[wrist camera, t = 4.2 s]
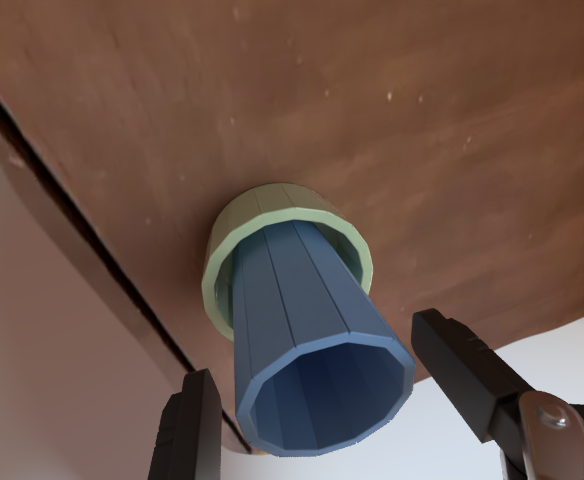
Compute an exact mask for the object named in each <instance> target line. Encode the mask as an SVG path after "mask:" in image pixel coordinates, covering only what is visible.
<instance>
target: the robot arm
mask: <svg viewBox="0 0 584 480" xmlns="http://www.w3.org/2000/svg"><path fill="white" fill-rule="evenodd" d="M411 344H412V347H413V350H414V352H415V354H416V356H417V357H418V358H419V360H420V361H421V362H422V364H423V365H424V366H425V368H426V369H427V370H428V372H429V373H430V375H431V376H432V377H433V379H434V380H435V381H436V383H437V384H438V385H439V387H440V388H441V389H442V391H443V392H444V393H445V395H446V396H447V397H448V399H449V400H450V401H451V403H452V404H453V405H454V407H455V408H456V409H457V411H458V412H459V413H460V415H461V416H462V417H463V419H464V420H465V422H466V423H467V424H468V426H469V427H470V428H471V430H472V431H473V432H474V434H475V435H476V436H477V438H478V439H479V440H480V442H481V443H485V442H488V441H491V440H495V442H496V443H497V444H498V445H499V447H500V458H501V465H502V473H503V479H504V480H584V405H580V404H568V403H567V402H565V401H564V400H562V399H560V398H558V397H556V396H554V395H552V394H550V393H546V392H542V391H537V390H535V389H534V388H533V387H531V386H530V385H529V384H528V383H527V382H526V381H525V380H524V379H522V377H520V376H519V375H518V374H517V373H516V372H515V371H514V370H513V369H512V368H511V367H510V366H509V365H508V364H506V362H504V361H503V360H502V359H501V358H500V357H499V356H498V355H497V354H496V353H495V352H494V351H493V350H492V349H489V348H488V346H487V345H486V344H485V343H484V342H483V341H482V340H481V339H479V338H478V336H477V335H476V334H475V333H473V332H472V331H471V330H470V329H469V328H468V327H467V326H466V325H464V324H462V323H460V322H458V321H456V320H454V319H453V318H449V319H446V318H445V317H444V316H443V315H442V314H441V313H440V312H439V311H438V310H436V309H434V308H431V309H427V310H423V311H419V312H416V313H414V314H413V319H412V333H411ZM221 425H222V406H221V399H220V395H219V392H218V390H217V387H216V385H215V383H214V381H213V378H212V376H211V374H210V371H209V370H208V369H207V368H206V369H203V370H199V371H195V372H191V373H188V374H186V375H185V377H184V381H183V387H182V392H180V393H176V394H173V395H171V397H170V399H169V401H168V402H167V404H166V406H165V408H164V409H163V411H162V416H161V420H160V426H159V432H158V434H157V439H156V447H155V448H154V452H153V457H152V462H151V466H150V471H149V475H148V480H220V464H221V463H220V462H221Z"/></svg>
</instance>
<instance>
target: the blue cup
mask: <svg viewBox="0 0 584 480" xmlns="http://www.w3.org/2000/svg"><path fill="white" fill-rule="evenodd" d="M232 283H233V327H234V372H235V416H236V418H237V421H238V423H239V426H240V428H241V430H242V433H243V435H244V438H245V440H246V442H248V444H250V445H252V446H254V447H256V448H258V449H261V450H263V451H265V452H267V453H270V454H272V455H274V456H279V457H311V456H317V455H318V456H320V455H323V454H326V453H329V452H332V451H335V450H338V449H342V448H345V447H348V446H350V445H354V444H356V442H357V443H358V442H360V441H362V440H363V439H365V438H366V437H368V436H369V435H371V434H372V433H374V432H375V431H377V430H378V429H380V428H381V427H383V426H384V425H386V424H387V423H389V422H390V420H392V419H393V418H394V416H395V415H396V414H397V412H398V411H399V409H400V408H401V407H402V406H403V404H404V403H405V402H406V400H407V399H408V398H409V396H410V395H411V394H412V391H413V384H414V373H415V361H414V359H413V358H412V356H411V355H410V353H409V352H408V351H407V349H406V348H405V346H404V345H403V344H402V342H401V341H400V340H399V338H398V337H397V335H396V334H395V333H394V331H393V330H392V329H391V327H390V326H389V324H388V323H387V322H386V320H385V319H384V317H383V316H382V315H381V313H380V312H379V311H378V309H377V308H376V306H375V305H374V304H373V302H372V301H371V300H370V298H369V297H368V295H367V294H366V293H365V291H364V290H363V288H362V287H361V286H360V284H359V283H358V282H357V280H356V279H355V277H354V276H353V275H352V273H351V272H350V271H349V269H348V268H347V266H346V265H345V264H344V262H343V261H342V259H341V258H340V257H339V255H338V254H337V253H336V251H335V250H334V248H333V247H332V246H331V244H330V243H329V242H328V240H327V239H326V237H325V236H324V235H323V233H322V232H321V231H320V230H319V228H318V227H317V226H316V225H315V224H314V222H313V221H305V220H296V219H293V220H288V221H284V222H279V223H274V224H270V225H265V226H264V227H262V228H260V229H259V230H257V231H255V232H253V233H252V234H250V235H248V236H247V237H245V238H243V239H242V240H240V241H239V242H238V244H237V245H236V246H235V247H234V248H233V251H232Z"/></svg>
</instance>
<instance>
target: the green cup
mask: <svg viewBox="0 0 584 480" xmlns="http://www.w3.org/2000/svg"><path fill="white" fill-rule="evenodd" d="M293 219H296V220H305V221H313V222H314V224H315V225H316V226H317V227H318V228H319V230H320V231H321V232H322V233H323V235H324V236H325V237H326V239H327V240H328V242H329V243H330V244H331V246H332V247H333V248H334V250H335V251H336V253H337V254H338V255H339V257H340V258H341V259H342V261H343V262H344V264H345V265H346V266H347V268H348V269H349V271H350V272H351V273H352V275H353V276H354V277H355V279H356V280H357V282H358V283H359V284H360V286H361V287H362V288H363V290H364V291H365V293H366V294H367V295H368V293H369V290H370V284H371V279H372V273H373V266H372V261H371V257H370V252H369V248H368V245H367V243H366V242H365V241H364V239H363V238H362V237H361V235H360V234H359V233H358V231H357V230H356V229H355V227H354V226H353V225H352V224H351V223H350V222H349V221H348V220H347V219H346V218H345V217H344V216H343V215H342V214H341V213H340V212H339V211H338V210H337V209H336V208H335V207H334V206H333V205H332V204H331V203H330V202H329V201H327V200H326V199H324V198H323V197H322V196H320V195H319V194H317V193H316V192H314V191H312V190H310V189H308V188H306V187H303V186H299V185H296V184H289V183H273V184H266V185H262V186H258V187H255V188H253V189H250V190H248V191H246V192H244V193H242V194H241V195H239V196H237V197H236V198H235V199H234V200H232V201H231V202H230V203H229V204H228V205H227V206H226V207H225V208H224V209H223V210H222V212H221V213H220V214H219V216H218V217H217V219H216V221H215V223H214V225H213V227H212V230H211V233H210V237H209V242H208V245H207V250H206V257H205V263H204V270H203V277H202V283H201V288H202V295H203V302H204V309H205V312H206V314H207V315H208V317H209V318H210V320H211V321H212V323H213V324H214V326H215V327H216V329H217V330H218V331H219V333H221V334H222V335H224V336H225V337H227V338H228V339H230V340H231V341H233V342H234V327H233V283H232V251H233V248H234V247H235V246H236V245H237V244H238V242H239V241H240V240H242V239H243V238H245V237H247V236H248V235H250V234H252V233H253V232H255V231H257V230H259V229H260V228H262V227H264V226H265V225H270V224H274V223H279V222H284V221H288V220H293Z"/></svg>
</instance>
